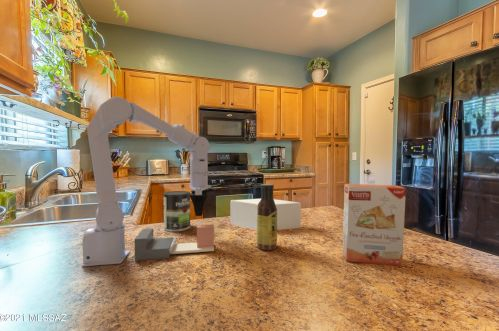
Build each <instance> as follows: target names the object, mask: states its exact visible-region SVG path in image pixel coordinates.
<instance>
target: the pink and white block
mask: <svg viewBox="0 0 499 331" xmlns="http://www.w3.org/2000/svg"><path fill="white" fill-rule="evenodd" d="M214 230H215V226H214V224H198V225H196V242H183V243H175V245H174V248H173V251H172V252H170V255H177V254H178V255H179V254H188V253H189V254H191V253H201V252H214V251H215V244H214V243H215V233H214V232H215V231H214Z"/></svg>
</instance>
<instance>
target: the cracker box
mask: <svg viewBox="0 0 499 331" xmlns="http://www.w3.org/2000/svg"><path fill="white" fill-rule="evenodd" d="M343 190H344V193H343V194H344V195H343V196H344V198H343V223H342V224H343V226H342V228H343V229H342V255H343V256H344V259H345V261H346V262H351V263H352V262H353V263H364V264H371V265H373V264H375V265H385V266H396V267H403V258H404V255H403V254H404V236H405V235H404V234H405V213H406V212H405V211H406V195H407V194H406V193H407V192H406V191H407V190H406V188H405V187H403V186H400V185H396V184H395V185H393V184H391V185H390V184H372V183H371V184H370V183H368V184H367V183H366V184H364V183H344V189H343Z"/></svg>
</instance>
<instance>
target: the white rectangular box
mask: <svg viewBox="0 0 499 331" xmlns="http://www.w3.org/2000/svg"><path fill="white" fill-rule="evenodd" d="M273 199H274V202H275V205H276V208H277V231H280V230H291V229H293V230H294V229H301V226H302V202H298V201H291V200H290V201H289V200H283V199H277V198H273ZM260 200H261V198H248V199H246V198H245V199H231V200H230V208H229V209H230V210H229V211H230V212H229V213H230V214H229V215H230V225H233V226H237V227H241V228H246V229H251V230H255V231H257V214H258V209H257V208H258V204H259V202H260Z"/></svg>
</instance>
